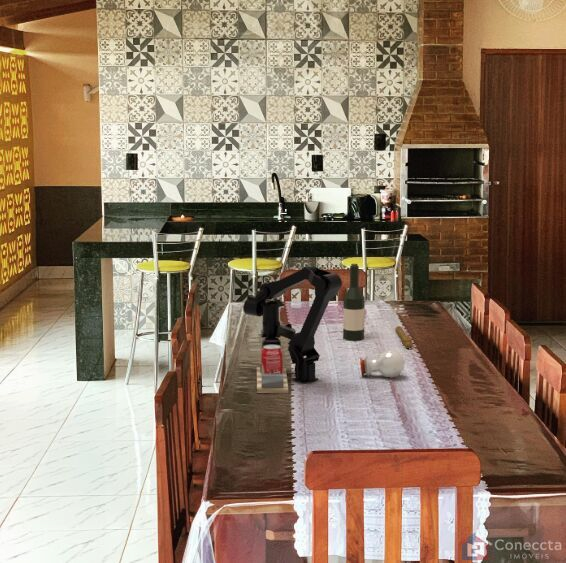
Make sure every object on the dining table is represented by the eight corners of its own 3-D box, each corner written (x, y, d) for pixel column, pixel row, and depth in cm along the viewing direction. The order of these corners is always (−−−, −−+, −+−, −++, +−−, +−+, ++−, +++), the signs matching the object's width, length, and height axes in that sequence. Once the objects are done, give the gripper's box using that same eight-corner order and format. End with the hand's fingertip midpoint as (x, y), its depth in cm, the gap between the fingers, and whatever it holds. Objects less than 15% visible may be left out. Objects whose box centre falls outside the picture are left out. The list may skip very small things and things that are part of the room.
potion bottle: (407, 382, 336) (363, 386, 338) (404, 360, 343) (361, 364, 345) (405, 364, 330) (360, 369, 332) (403, 342, 337) (359, 347, 338)
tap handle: (402, 325, 405) (413, 342, 376) (402, 333, 406) (413, 350, 376) (394, 325, 405) (405, 342, 376) (394, 333, 406) (405, 350, 376)
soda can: (270, 378, 331) (270, 343, 329) (287, 381, 327) (287, 346, 325) (257, 382, 325) (256, 347, 323) (274, 386, 321) (273, 350, 319)
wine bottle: (364, 341, 390) (365, 265, 385) (343, 341, 390) (344, 265, 385) (363, 336, 398) (364, 262, 393) (342, 336, 398) (343, 262, 393)
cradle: (288, 393, 318) (288, 376, 317) (257, 393, 318) (256, 377, 317) (285, 370, 346) (285, 355, 345) (256, 370, 346) (256, 355, 345)
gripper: (295, 324, 331) (295, 369, 334) (292, 312, 350) (292, 355, 352) (262, 324, 331) (262, 369, 333) (261, 312, 349) (261, 355, 352)
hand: (270, 362), depth 343 cm, fingers closed
